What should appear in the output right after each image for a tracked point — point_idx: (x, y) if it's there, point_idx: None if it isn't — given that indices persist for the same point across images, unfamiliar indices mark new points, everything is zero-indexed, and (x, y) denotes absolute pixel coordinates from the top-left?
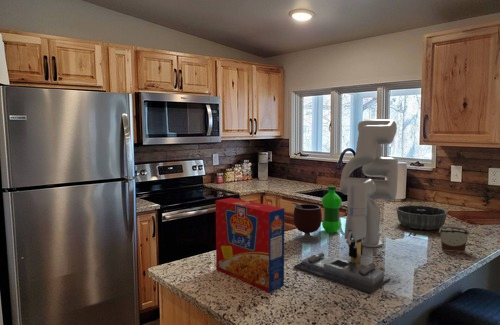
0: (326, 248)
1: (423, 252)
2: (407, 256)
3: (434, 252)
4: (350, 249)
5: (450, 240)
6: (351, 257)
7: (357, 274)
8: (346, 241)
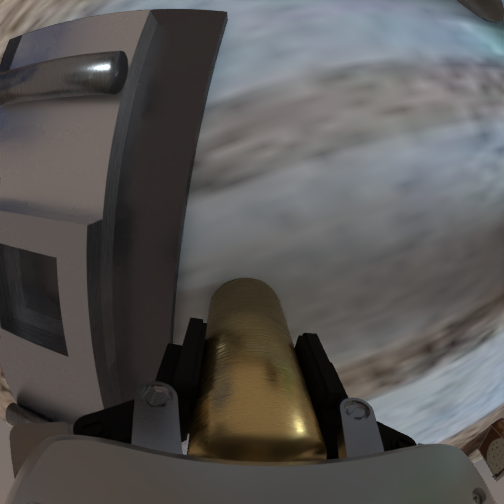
0: (438, 48)
1: (479, 415)
2: (449, 412)
3: (478, 427)
4: (157, 380)
5: (498, 449)
6: (210, 324)
7: (12, 392)
8: (12, 435)
